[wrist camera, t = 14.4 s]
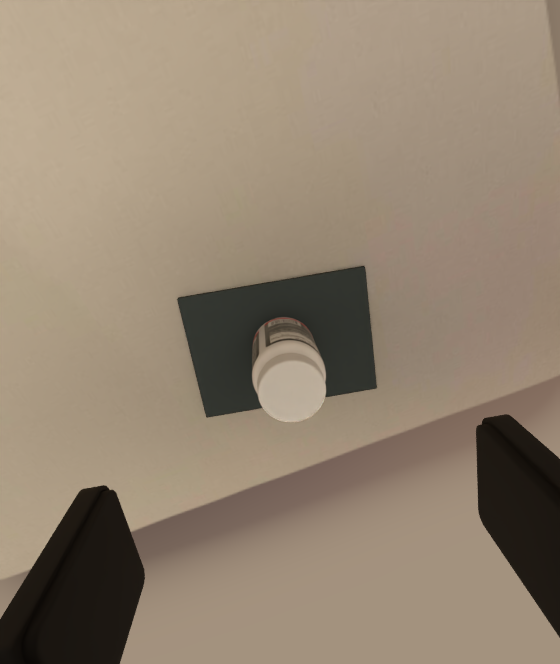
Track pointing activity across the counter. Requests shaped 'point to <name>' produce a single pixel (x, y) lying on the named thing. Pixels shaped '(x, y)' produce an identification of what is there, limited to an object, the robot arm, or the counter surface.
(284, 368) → the pill bottle
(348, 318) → the mat
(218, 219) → the counter surface
